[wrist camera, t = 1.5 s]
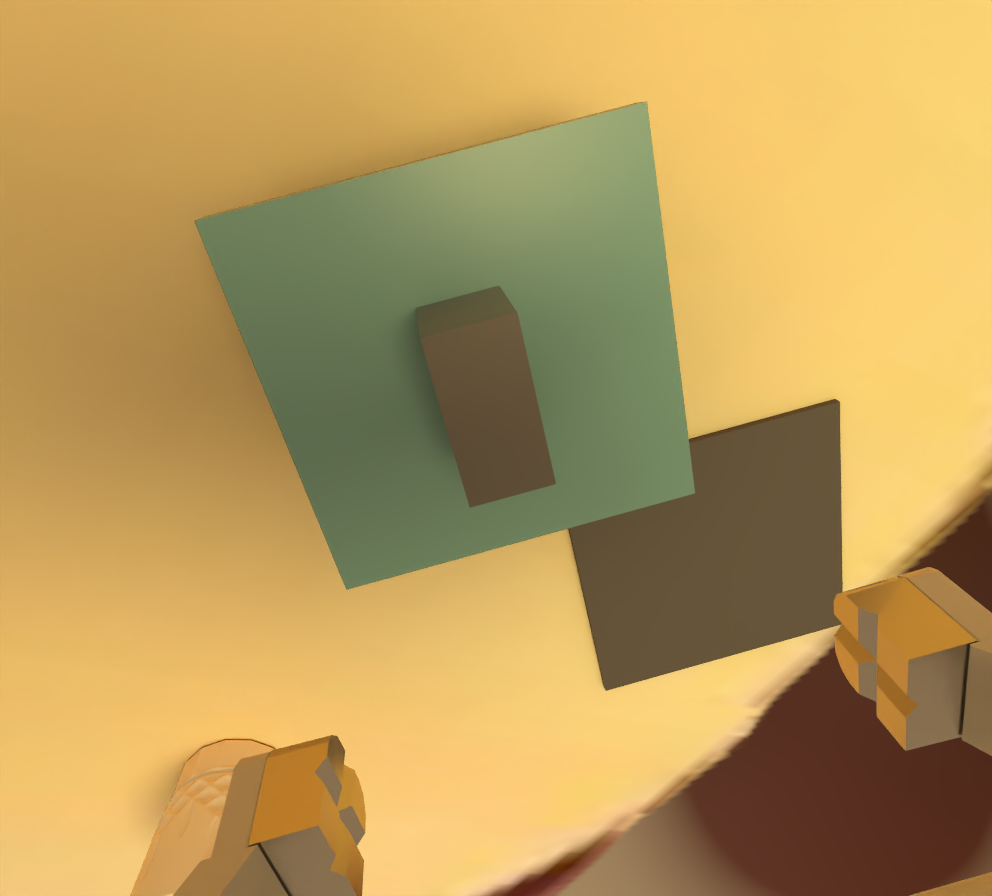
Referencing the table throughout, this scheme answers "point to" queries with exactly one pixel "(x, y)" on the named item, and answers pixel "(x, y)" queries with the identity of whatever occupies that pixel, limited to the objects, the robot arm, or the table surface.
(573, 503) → the lid
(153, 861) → the tan cup
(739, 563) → the rubber mat
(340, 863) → the robot arm
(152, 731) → the table surface
